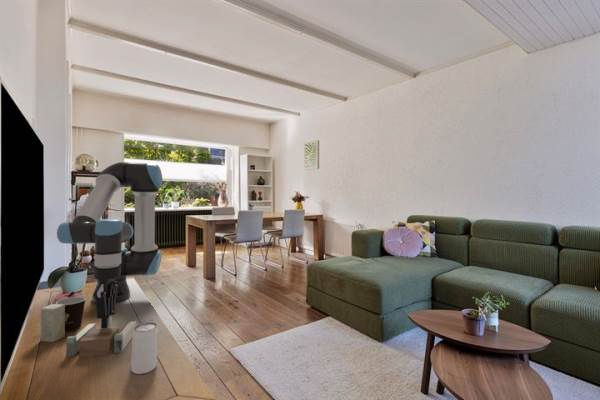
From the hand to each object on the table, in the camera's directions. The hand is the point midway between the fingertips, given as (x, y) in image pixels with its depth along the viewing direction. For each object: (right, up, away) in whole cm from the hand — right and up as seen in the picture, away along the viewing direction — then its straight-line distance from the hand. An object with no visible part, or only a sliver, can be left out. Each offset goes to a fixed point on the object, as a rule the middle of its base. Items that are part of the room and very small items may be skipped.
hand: (105, 335), depth 98 cm
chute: (0, -2, -1) cm, 2 cm away
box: (-19, -2, +1) cm, 19 cm away
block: (+1, -2, -5) cm, 5 cm away
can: (+20, -3, -14) cm, 25 cm away
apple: (-28, -1, +19) cm, 34 cm away
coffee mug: (-21, -2, +10) cm, 23 cm away
